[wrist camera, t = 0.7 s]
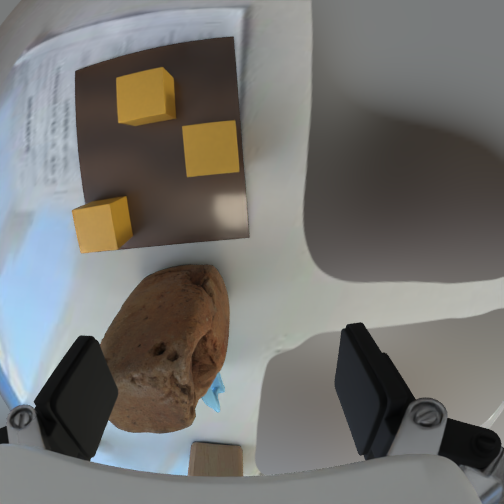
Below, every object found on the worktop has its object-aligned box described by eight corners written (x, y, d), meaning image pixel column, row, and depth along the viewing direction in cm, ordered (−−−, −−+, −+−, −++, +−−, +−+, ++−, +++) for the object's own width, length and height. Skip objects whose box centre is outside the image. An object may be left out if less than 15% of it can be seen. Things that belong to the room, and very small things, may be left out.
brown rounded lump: (159, 321, 38) (114, 439, 19) (137, 272, 36) (64, 378, 17) (235, 303, 38) (233, 432, 19) (217, 250, 35) (195, 361, 16)
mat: (76, 71, 26) (75, 71, 26) (233, 37, 27) (233, 36, 26) (95, 251, 34) (94, 252, 34) (249, 236, 35) (249, 237, 34)
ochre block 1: (91, 201, 32) (71, 210, 27) (126, 195, 32) (109, 203, 27) (98, 240, 34) (80, 253, 29) (133, 236, 34) (118, 249, 29)
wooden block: (192, 461, 51) (184, 538, 32) (191, 439, 48) (181, 527, 29) (237, 465, 52) (239, 542, 33) (242, 444, 48) (245, 532, 29)
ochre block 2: (132, 86, 28) (116, 77, 23) (173, 77, 28) (163, 66, 23) (134, 126, 29) (117, 123, 25) (176, 118, 29) (165, 113, 25)
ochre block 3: (190, 129, 30) (182, 126, 25) (235, 124, 30) (235, 119, 25) (194, 173, 32) (186, 177, 27) (239, 168, 32) (239, 171, 27)
